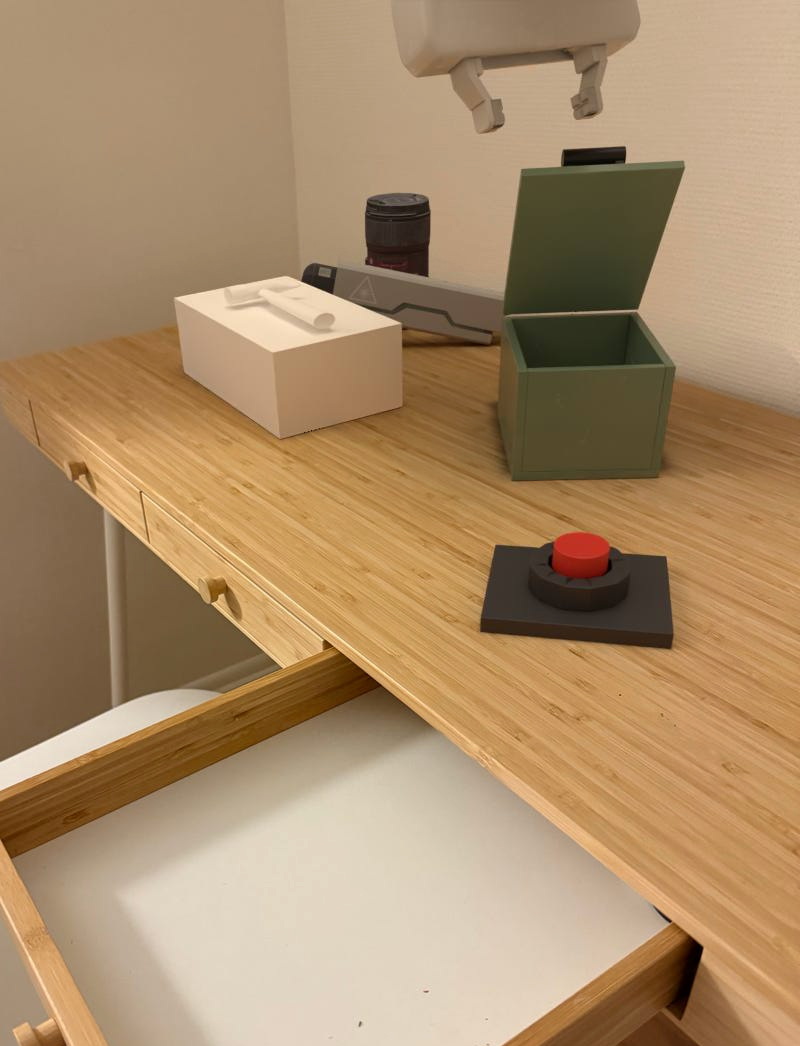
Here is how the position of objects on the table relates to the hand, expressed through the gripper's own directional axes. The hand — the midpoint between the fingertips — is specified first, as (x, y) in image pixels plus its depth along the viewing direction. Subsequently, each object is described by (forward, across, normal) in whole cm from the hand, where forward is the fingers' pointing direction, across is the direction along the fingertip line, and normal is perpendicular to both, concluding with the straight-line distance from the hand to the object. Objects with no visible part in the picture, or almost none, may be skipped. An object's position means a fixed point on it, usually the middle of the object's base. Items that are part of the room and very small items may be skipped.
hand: (541, 123), depth 72 cm
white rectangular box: (+12, +9, -38) cm, 41 cm away
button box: (+34, +13, +9) cm, 38 cm away
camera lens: (+7, -14, -50) cm, 53 cm away
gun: (+10, -10, -42) cm, 45 cm away
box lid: (+9, -7, -6) cm, 13 cm away
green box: (+25, -6, -11) cm, 28 cm away
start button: (+31, +13, +10) cm, 35 cm away
